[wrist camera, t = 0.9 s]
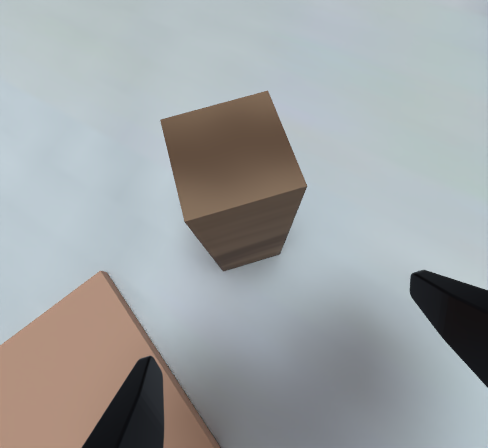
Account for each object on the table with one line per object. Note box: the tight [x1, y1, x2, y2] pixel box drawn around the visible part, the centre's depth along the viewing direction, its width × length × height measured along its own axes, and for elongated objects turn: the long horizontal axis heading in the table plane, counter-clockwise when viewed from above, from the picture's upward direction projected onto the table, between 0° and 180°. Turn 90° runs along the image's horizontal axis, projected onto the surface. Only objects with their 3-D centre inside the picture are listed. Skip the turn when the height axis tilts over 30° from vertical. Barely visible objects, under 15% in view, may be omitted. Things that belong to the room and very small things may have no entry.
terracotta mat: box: [0, 271, 220, 448], centre depth 19 cm, size 16×16×1 cm
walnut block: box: [160, 91, 307, 271], centre depth 18 cm, size 5×5×13 cm
